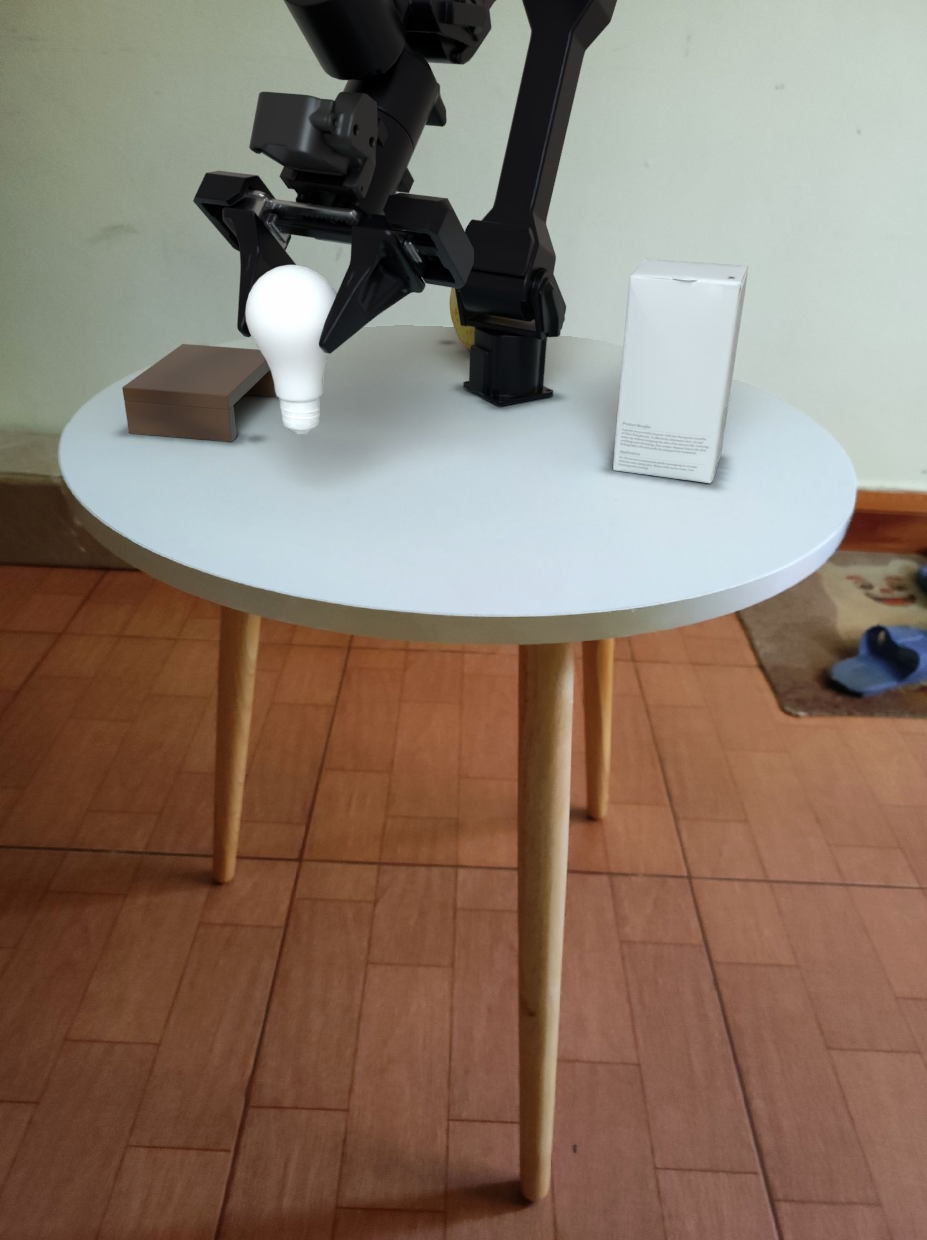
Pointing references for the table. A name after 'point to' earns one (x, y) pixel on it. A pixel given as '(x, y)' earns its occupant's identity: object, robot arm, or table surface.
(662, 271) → the cosmetic box
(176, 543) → the table surface
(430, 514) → the table surface
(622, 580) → the table surface
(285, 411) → the lightbulb
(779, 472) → the table surface
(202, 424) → the shelf
